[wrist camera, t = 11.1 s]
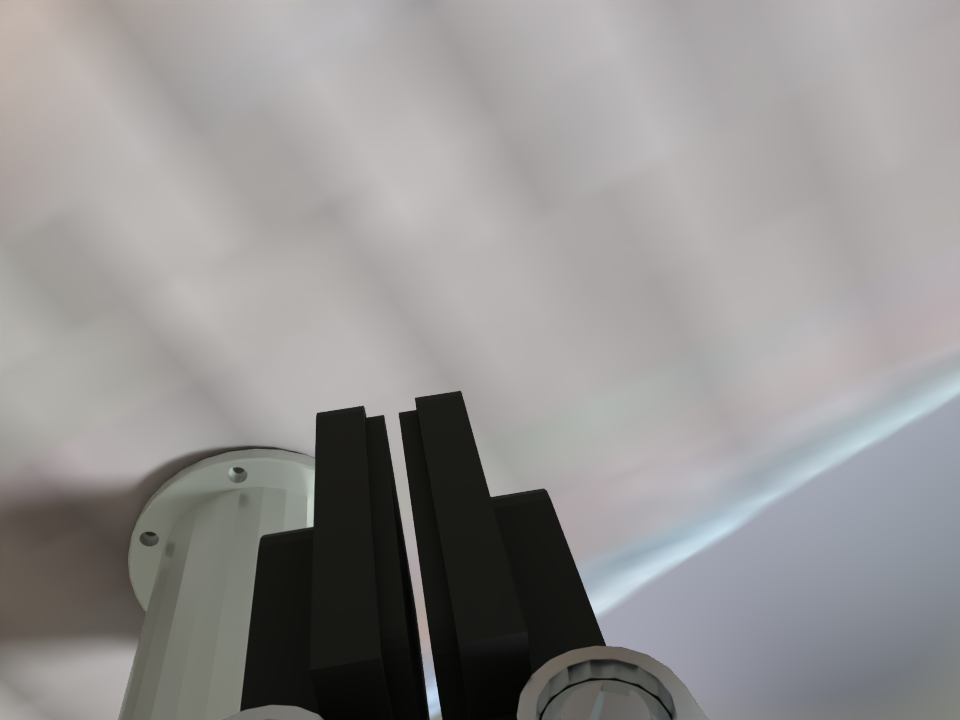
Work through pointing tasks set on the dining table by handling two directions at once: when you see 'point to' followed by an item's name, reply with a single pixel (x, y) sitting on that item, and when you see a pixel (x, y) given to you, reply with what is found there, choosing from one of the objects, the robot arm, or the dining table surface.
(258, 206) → the dining table surface
